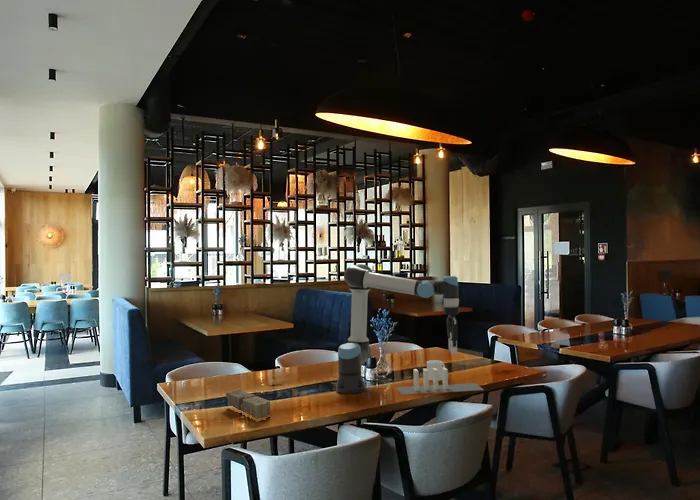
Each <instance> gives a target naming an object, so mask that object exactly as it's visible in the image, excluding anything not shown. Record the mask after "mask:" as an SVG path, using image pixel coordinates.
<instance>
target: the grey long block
mask: <svg viewBox="0 0 700 500" xmlns="http://www.w3.org/2000/svg"><path fill="white" fill-rule="evenodd" d="M225 398H227V406H228V405H230V406H233V407H235V408H237V409H238V410H241V411H243V412H245V413H247V414H249V415H252V417H254V418H256V419H258V418H263V417H267V415H270V416H271V401H270V400H268V399H265V398H263V397H260V396H258V395H255V394H252V393H251V392H249V391H248V392H247V391H244V390H242V388H240V389H233V390H230V391H226V392H225Z"/></svg>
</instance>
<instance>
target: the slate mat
mask: <svg viewBox="0 0 700 500" xmlns="http://www.w3.org/2000/svg"><path fill="white" fill-rule="evenodd" d="M396 388H397V390H398V392H399V393H400V395H417V394H434V393H455V392H473V391H474V392H475V391H484V390H485V389H484V388H482V387H481V386H480V385H479V384H477V383H476V382H475V383H474V382H472V383H456V384H455V383H452V384H448V389H447V390H445V389H444V388H443V384H438V390H435V389H434V388H433V384H432V385H430V384H429V390H428V391H426V390H425V389H424V388H423V385H419V391H415V389H414V385H412V386H396Z"/></svg>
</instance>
